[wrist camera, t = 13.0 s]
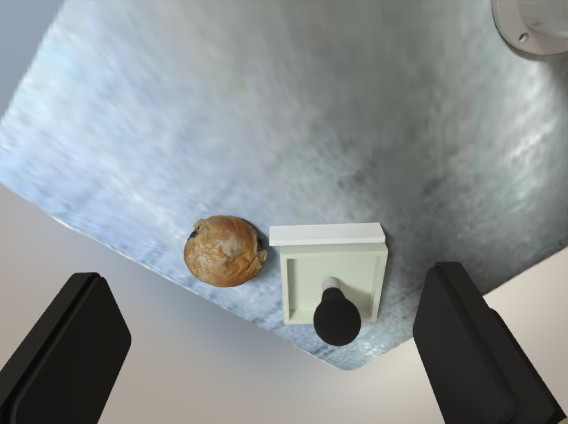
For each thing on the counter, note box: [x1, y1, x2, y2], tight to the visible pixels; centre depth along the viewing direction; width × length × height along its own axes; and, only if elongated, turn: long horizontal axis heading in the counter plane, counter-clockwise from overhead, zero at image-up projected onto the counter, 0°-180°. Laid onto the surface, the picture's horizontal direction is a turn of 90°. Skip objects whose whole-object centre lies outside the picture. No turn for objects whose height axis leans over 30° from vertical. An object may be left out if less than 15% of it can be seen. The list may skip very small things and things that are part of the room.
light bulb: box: [313, 278, 361, 346], centre depth 44 cm, size 6×6×10 cm
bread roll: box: [184, 216, 268, 287], centre depth 43 cm, size 10×10×8 cm
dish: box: [280, 242, 388, 324], centre depth 47 cm, size 14×14×2 cm
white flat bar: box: [269, 223, 385, 246], centre depth 42 cm, size 14×1×3 cm, turn 92°
